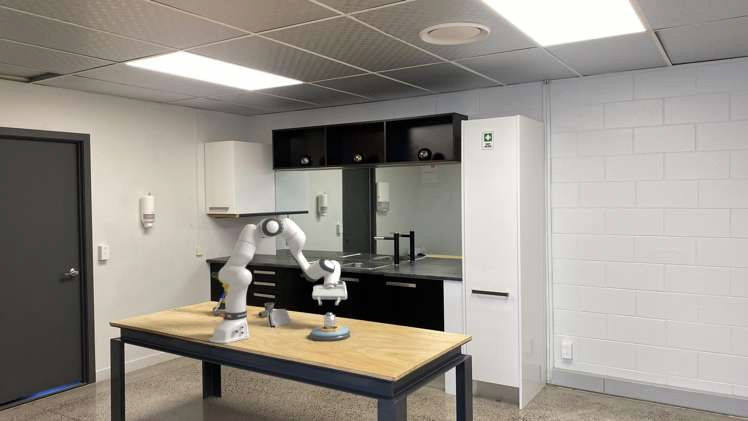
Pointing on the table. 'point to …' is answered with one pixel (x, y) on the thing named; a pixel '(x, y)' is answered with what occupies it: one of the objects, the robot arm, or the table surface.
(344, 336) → the turntable base
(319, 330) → the turntable platter
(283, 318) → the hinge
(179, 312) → the table surface
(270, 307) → the pipe
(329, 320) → the silver can
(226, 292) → the cordless drill
